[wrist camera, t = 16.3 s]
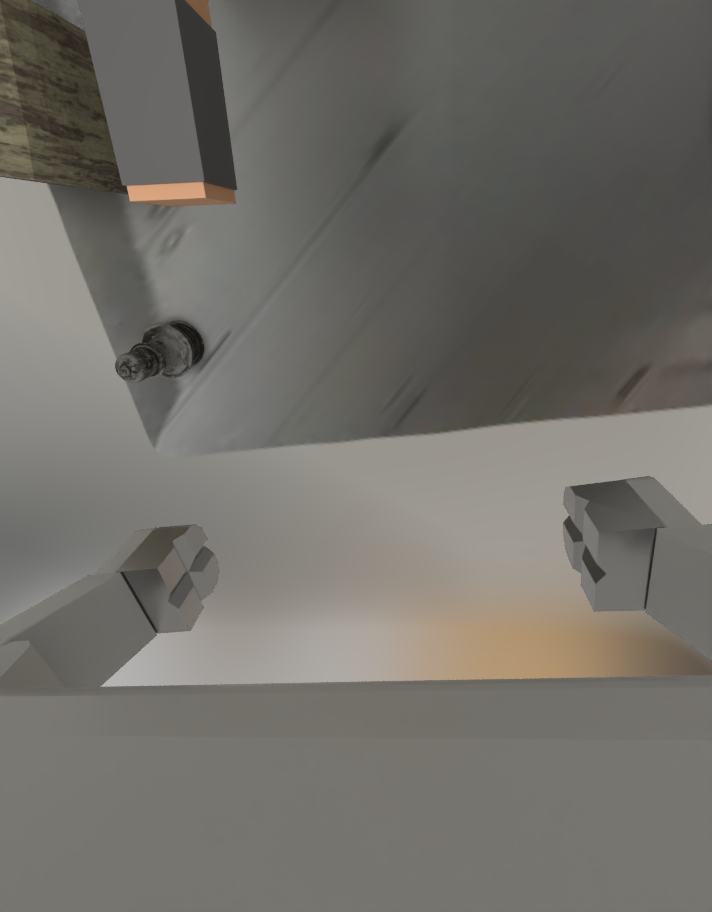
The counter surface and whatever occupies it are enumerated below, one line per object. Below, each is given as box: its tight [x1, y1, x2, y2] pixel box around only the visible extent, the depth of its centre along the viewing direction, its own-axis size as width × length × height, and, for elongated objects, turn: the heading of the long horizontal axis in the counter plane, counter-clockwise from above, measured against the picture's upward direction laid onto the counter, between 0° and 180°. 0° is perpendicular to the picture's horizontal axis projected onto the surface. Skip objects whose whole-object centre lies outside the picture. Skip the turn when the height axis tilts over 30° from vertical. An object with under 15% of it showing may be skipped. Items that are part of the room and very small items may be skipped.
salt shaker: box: [115, 321, 204, 383], centre depth 44 cm, size 6×6×12 cm
